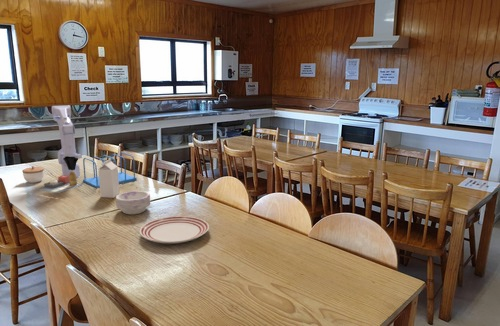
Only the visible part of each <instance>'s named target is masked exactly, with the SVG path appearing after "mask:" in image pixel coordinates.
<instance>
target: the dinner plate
mask: <svg viewBox="0 0 500 326" xmlns="http://www.w3.org/2000/svg"><path fill="white" fill-rule="evenodd" d="M209 229H210V225H209V223H208V222H207V221H206V220H204V219H201V218H198V217H194V216H187V215H177V216H173V215H172V216H166V217H162V218H157V219H153V220H151V221H148V222H146V223H144V224H142V226H141V227H140V229H139V234H140V236H141V237H142V238H144V239H145V240H148V241H151V242H154V243H160V244H168V245H169V244H170V245H171V244H174V245H175V244H181V243H186V242H189V241H194V240H196V239H198V238H199V237H200V238H201V236H203V235H205V234H206V233H207V232H208V231H209Z"/></svg>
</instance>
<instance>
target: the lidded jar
mask: <svg viewBox="0 0 500 326" xmlns="http://www.w3.org/2000/svg"><path fill="white" fill-rule="evenodd" d="M44 170H45V168H44V167H41V166H40V167H39V166H33V165H32V166H31V167H28V168H24V169H22V175H23V179H24V180H25V181H26V182H27V183H28V184H33V183H39V182H41V181H42V180H43V179H44V176H45V174H44V173H45V171H44Z"/></svg>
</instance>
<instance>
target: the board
mask: <svg viewBox="0 0 500 326" xmlns="http://www.w3.org/2000/svg"><path fill="white" fill-rule="evenodd" d="M84 185H85V184H83V183H78V182H77V185H74V186H71V185H70V182H69V183H67V184H64V185H62V186H59V187H56V188H49V187H45V186H44V187H40V188H37V189H35V190H37V191H42V192H48V193H53V194H60V193H63V192H66V191H69V190H72V189H75V188H78V187H81V186H84Z"/></svg>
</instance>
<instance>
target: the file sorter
mask: <svg viewBox="0 0 500 326" xmlns="http://www.w3.org/2000/svg"><path fill="white" fill-rule="evenodd" d="M122 154H123V155H126V156H128V157H131V158H132V163H133V165H132V166H133V175H130V174H128V173H127V170H126V168H127V167H126V159H125V157H124V156H122ZM113 156H116V157H119V160H120V161H119V162H120V172H118V180H119V185H120V184H125V183H126V184H127V183H131V182H135V181H138V179H137V177H136V172H135V171H136V167H135V158H134V155H132V154H129V153H126V152H120V154H119V155H118V154H115V153H112V154H111V155H110V156H109V155H106V154H104V155H103V154H102V158H101V157H97V156H93V157H92V160H91V158H87V157H84V158H82V161H83V162H82V163H83V174H84V175H83V177H84V179H82V182H83V183H85V184H87V185H89V186H92V187H94V188H96V189H97V188H100V184H99V176H98V168H97V167H98V166H97V163H96V162H95V159H98V160H100V161H102V162H101V164H103V163H104V162H105V161H106V160H105V159H104V157H106V158H109V159H111V161H112V162H113V163H114V164H115V165H116V166H117V162H116V159H115V158H113ZM85 160H87V161H89V162H92V167H93V177H89V178H86V166H85ZM122 161H123V163H122ZM122 164H123V165H124V166H123V165H122ZM122 167H124V172H123V168H122Z"/></svg>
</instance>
